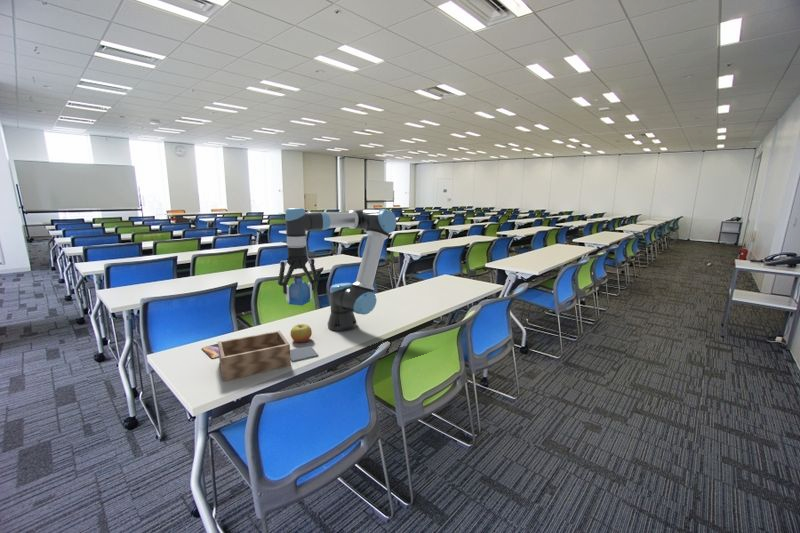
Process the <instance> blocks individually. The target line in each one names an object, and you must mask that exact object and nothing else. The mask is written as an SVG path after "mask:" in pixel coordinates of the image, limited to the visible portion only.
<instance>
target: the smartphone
mask: <svg viewBox="0 0 800 533" xmlns="http://www.w3.org/2000/svg"><path fill="white" fill-rule="evenodd" d="M201 351H203V353H204V354H205V355H207V356H208V358H210V359H211V360H215V359H219V350H218V343H215V344H211V345H207V346H204V347H202V348H201Z"/></svg>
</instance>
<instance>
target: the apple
mask: <svg viewBox="0 0 800 533" xmlns="http://www.w3.org/2000/svg"><path fill="white" fill-rule="evenodd" d="M312 334H313V331H312V328H311V326H310V325H309V324H307V323H299V324H295V325H294V326H293V327H292V328H291V329H290V337H291V340H293V342H295V343H299V344H300V343H305V342H307V341H309V340H310V338H311V337H312Z"/></svg>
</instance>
